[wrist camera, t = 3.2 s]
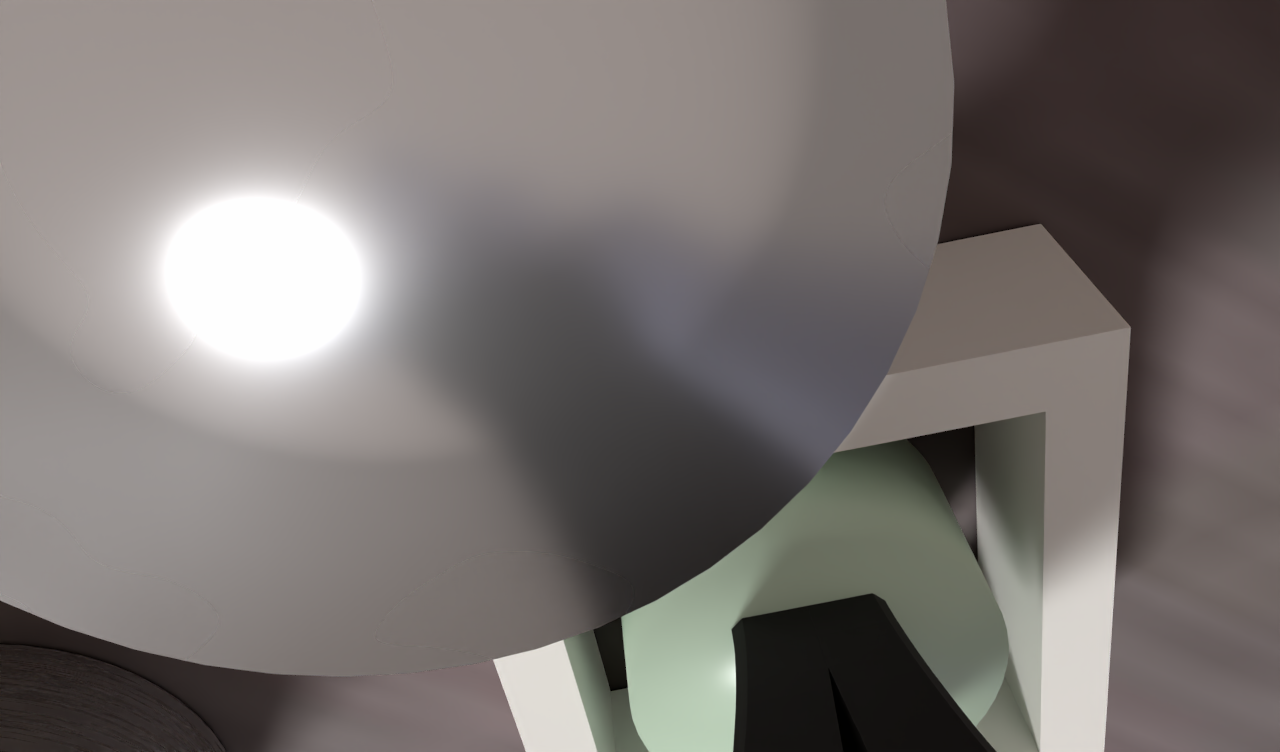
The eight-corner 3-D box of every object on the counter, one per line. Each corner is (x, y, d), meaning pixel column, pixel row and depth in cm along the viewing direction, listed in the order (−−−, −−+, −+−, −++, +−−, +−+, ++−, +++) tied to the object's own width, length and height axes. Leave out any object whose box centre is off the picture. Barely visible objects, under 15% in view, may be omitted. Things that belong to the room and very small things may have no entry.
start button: (937, 374, 12) (1008, 501, 10) (949, 628, 14) (1009, 768, 12) (584, 443, 12) (594, 580, 10) (646, 685, 14) (663, 833, 12)
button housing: (1040, 223, 11) (1130, 327, 10) (1035, 649, 15) (1101, 782, 13) (439, 343, 11) (423, 465, 10) (567, 738, 15) (572, 881, 13)
